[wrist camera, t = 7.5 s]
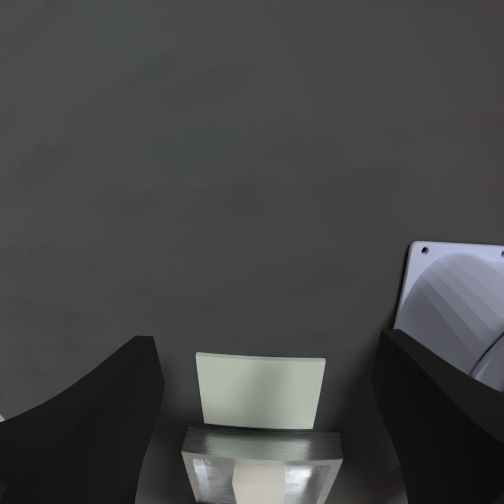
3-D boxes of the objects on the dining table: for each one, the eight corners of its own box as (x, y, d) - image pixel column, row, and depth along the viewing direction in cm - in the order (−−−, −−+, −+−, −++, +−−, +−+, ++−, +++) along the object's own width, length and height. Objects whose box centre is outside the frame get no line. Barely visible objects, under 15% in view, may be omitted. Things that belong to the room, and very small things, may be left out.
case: (339, 431, 24) (345, 476, 19) (315, 497, 28) (316, 531, 24) (189, 424, 25) (176, 468, 20) (204, 492, 29) (197, 525, 24)
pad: (324, 358, 21) (325, 361, 21) (312, 425, 24) (312, 428, 23) (196, 352, 22) (195, 355, 21) (205, 419, 24) (204, 423, 24)
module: (285, 443, 24) (285, 484, 20) (284, 472, 26) (283, 509, 22) (237, 442, 25) (231, 483, 20) (242, 472, 26) (237, 507, 22)
